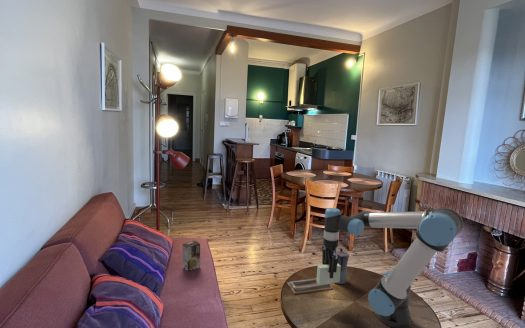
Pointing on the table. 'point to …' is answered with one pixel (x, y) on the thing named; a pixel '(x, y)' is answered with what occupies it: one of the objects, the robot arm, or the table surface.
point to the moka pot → (342, 265)
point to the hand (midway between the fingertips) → (328, 281)
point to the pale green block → (323, 274)
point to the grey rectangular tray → (307, 286)
